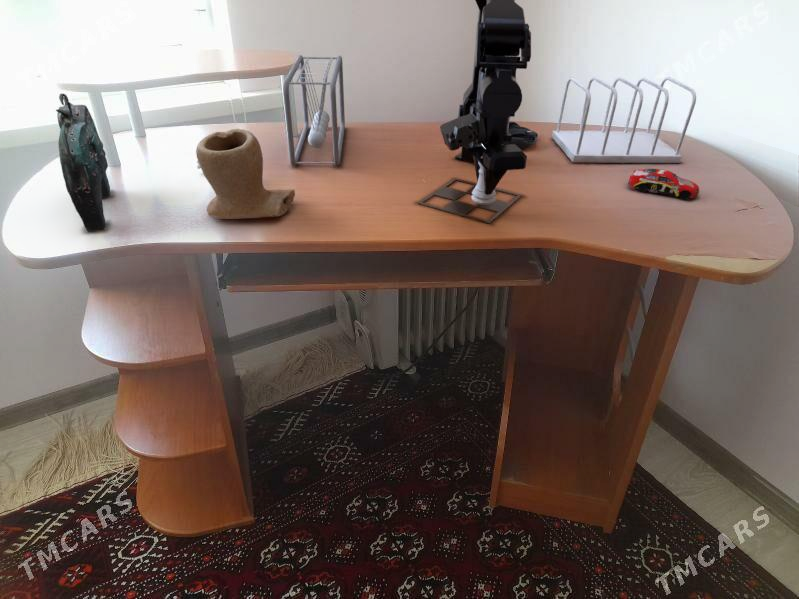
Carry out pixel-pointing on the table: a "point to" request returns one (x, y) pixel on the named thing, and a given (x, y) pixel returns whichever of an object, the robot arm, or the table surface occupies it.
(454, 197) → the chessboard
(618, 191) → the table surface
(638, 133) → the file sorter
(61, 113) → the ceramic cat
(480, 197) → the rook chess piece
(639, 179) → the race car
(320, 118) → the newton's cradle
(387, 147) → the table surface
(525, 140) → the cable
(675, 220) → the table surface
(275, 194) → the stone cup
